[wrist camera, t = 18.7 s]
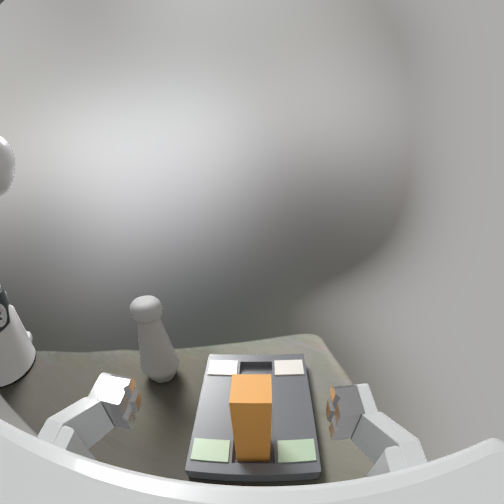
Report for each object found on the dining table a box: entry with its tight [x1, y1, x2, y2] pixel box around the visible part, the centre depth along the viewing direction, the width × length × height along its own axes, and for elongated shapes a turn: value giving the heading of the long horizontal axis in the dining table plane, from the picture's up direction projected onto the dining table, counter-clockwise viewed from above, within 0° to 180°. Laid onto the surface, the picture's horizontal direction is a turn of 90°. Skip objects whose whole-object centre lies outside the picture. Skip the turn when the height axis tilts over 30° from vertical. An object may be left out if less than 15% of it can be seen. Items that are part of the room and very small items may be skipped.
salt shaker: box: [130, 295, 179, 383], centre depth 38 cm, size 6×6×13 cm
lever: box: [229, 374, 272, 462], centre depth 25 cm, size 4×4×11 cm
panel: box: [185, 354, 321, 482], centre depth 33 cm, size 14×20×2 cm
